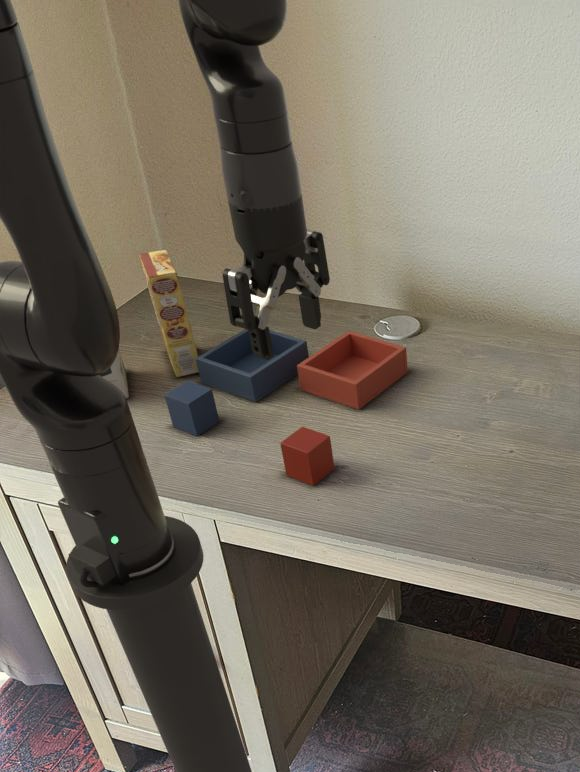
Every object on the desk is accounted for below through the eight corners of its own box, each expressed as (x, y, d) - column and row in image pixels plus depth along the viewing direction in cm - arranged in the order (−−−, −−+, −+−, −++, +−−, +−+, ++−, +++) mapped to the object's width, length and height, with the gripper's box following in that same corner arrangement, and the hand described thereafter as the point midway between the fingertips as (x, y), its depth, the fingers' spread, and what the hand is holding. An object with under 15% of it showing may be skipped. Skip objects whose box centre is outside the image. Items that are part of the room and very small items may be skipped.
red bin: (358, 409, 123) (356, 384, 120) (300, 390, 127) (296, 365, 124) (407, 372, 131) (406, 347, 128) (351, 354, 135) (348, 330, 132)
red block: (313, 486, 110) (308, 453, 107) (286, 475, 112) (279, 442, 108) (334, 468, 113) (330, 435, 109) (307, 458, 115) (302, 426, 111)
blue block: (197, 436, 118) (188, 403, 115) (173, 427, 120) (163, 394, 116) (219, 421, 121) (211, 389, 117) (196, 412, 123) (187, 380, 119)
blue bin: (255, 402, 125) (250, 377, 122) (201, 383, 128) (195, 358, 125) (310, 365, 132) (306, 340, 129) (257, 348, 136) (252, 324, 133)
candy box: (203, 373, 130) (178, 271, 119) (175, 378, 129) (147, 276, 118) (192, 347, 136) (167, 248, 125) (165, 352, 135) (137, 253, 124)
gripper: (280, 165, 93) (302, 310, 105) (187, 207, 85) (222, 359, 97) (336, 178, 91) (352, 325, 102) (245, 221, 82) (274, 377, 94)
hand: (289, 341), depth 99 cm, fingers open, 8 cm apart
